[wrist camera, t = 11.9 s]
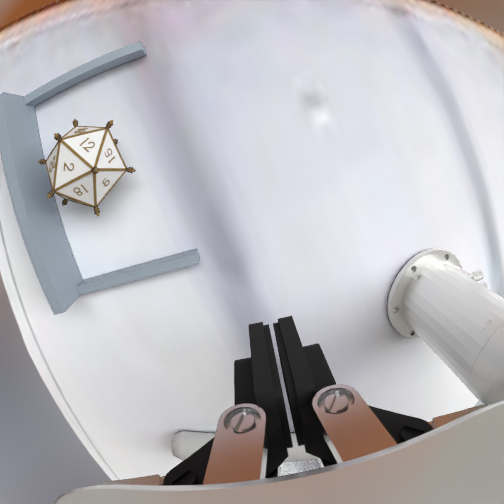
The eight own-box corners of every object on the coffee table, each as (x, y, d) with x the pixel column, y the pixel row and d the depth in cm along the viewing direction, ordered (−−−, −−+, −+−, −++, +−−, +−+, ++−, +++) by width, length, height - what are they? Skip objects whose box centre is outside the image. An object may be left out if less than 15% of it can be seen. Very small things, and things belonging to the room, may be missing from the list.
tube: (171, 464, 37) (330, 462, 40) (167, 455, 34) (342, 452, 37) (173, 434, 41) (325, 435, 44) (170, 422, 38) (336, 423, 41)
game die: (108, 179, 32) (49, 237, 25) (77, 115, 26) (6, 165, 20) (165, 169, 28) (100, 237, 21) (132, 89, 23) (46, 141, 16)
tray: (144, 47, 24) (129, 26, 19) (199, 257, 32) (195, 279, 26) (24, 104, 24) (-7, 99, 19) (76, 290, 31) (54, 314, 26)
